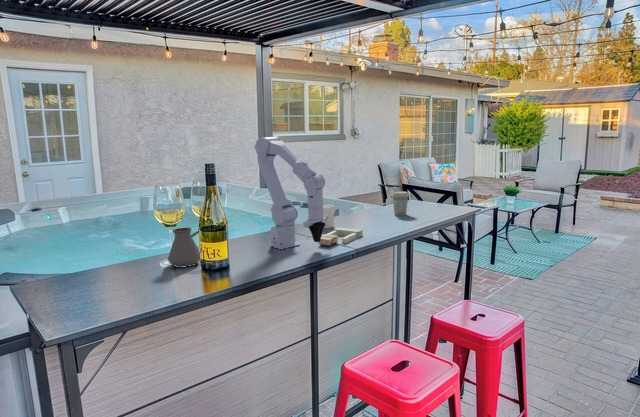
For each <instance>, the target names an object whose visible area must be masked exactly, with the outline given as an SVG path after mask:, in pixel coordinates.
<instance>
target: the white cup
mask: <svg viewBox="0 0 640 417" xmlns="http://www.w3.org/2000/svg"><path fill="white" fill-rule="evenodd" d="M323 215H328V220H326V221H322V222H323V223H325V226H324V229H332V228H334V225H335V222H334V221H335V205H333V204H323Z"/></svg>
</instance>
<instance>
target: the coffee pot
mask: <svg viewBox="0 0 640 417" xmlns="http://www.w3.org/2000/svg"><path fill="white" fill-rule="evenodd" d="M192 230H193V229H192V228H191V227H179V228H174V229H173V230H172V232H173V233H174V239H173V242H172V246H171V248H170V251H169V254H168V257H167V261H168V262H169V264H170V265H172V264H173V265H172V266H174V265H176V266H189V265H193V264H195V263H197V264H198V263H199V261H200V260H201V259H200V253H201V251H200V249H199V247H198V245H197V244H196V243H195V240H194V239H193V237H194V236H195V237H196V235H198V234H200V233H199V230H196V232H193V233H192V234H191V232H192ZM199 251H200V252H199Z"/></svg>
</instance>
